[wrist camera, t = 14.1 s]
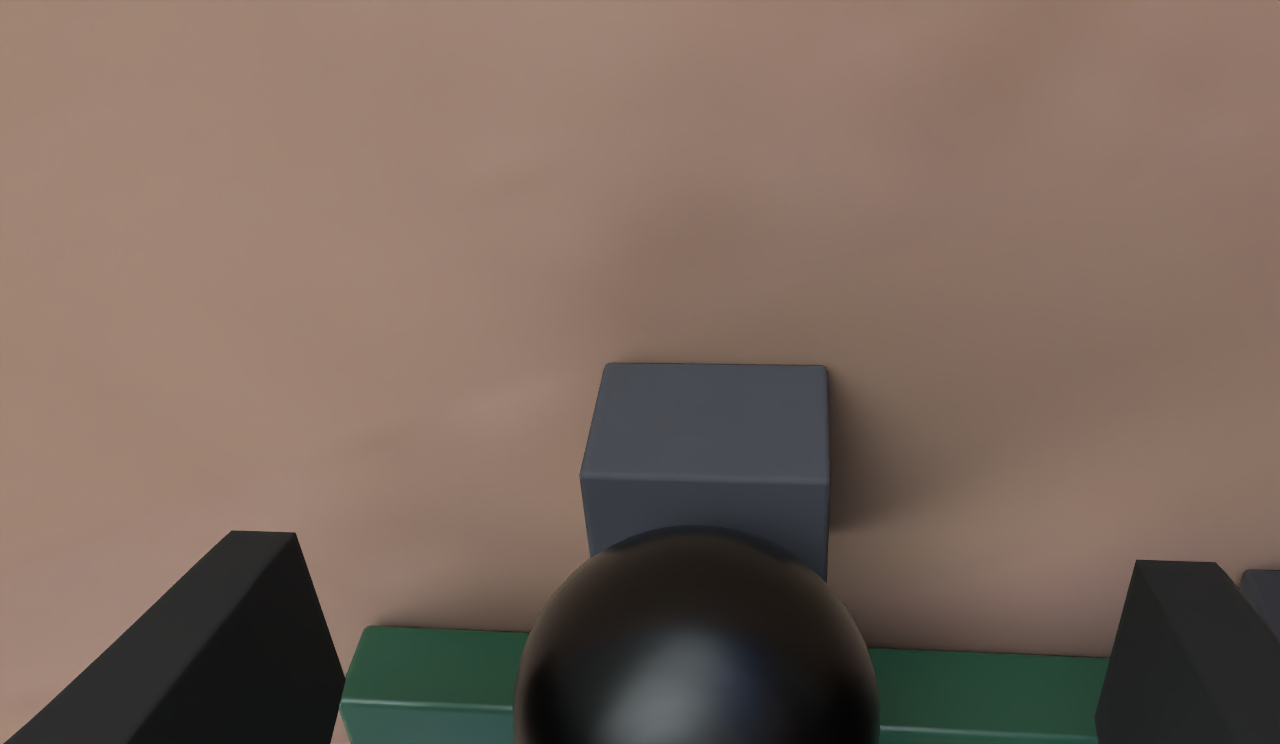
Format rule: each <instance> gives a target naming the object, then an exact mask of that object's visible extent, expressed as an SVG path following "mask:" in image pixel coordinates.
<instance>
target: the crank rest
mask: <svg viewBox="0 0 1280 744" xmlns="http://www.w3.org/2000/svg"><path fill="white" fill-rule="evenodd" d="M579 476H580V483H581V491H582V498H583V506H584V513H585V521H586V528H587V536H588V543H589V551H590V558H592V557H593V556H595V555H596V554H598V553H600V552H601V551H603V550H604V549H606V548H608V547H610V546H612V545H614V544H616V543H618V542H620V541H623V540H625V539H627V538H629V537H631V536H634V535H637V534H640V533H643V532H647V531H650V530H653V529H658V528H665V527H671V526H678V525H707V526H717V527H724V528H729V529H733V530H738V531H742V532H746V533H748V534H751V535H754V536H757V537H759V538H762V539H765V540H767V541H769V542H771V543H773V544H775V545H777V546H779V547H781V548H783V549H785V550H786V551H788V552H789V553H791V554H792V555H794V556H795V557H797V558H798V559H800V560H801V561H803V562H804V563H805V564H806V565H808V566H809V567H810V568H811V569H812V570H813V571H814V572H816V573H817V574H818V575H819V576H820V577H821V578H822V579H823V580H824V581H825V582H826V583H827V561H828V537H829V512H830V488H831V472H830V435H829V398H828V371H827V369H826V367H824V366H819V365H739V364H659V363H608V364H606V365H605V367H604V371H603V375H602V379H601V384H600V388H599V392H598V397H597V401H596V405H595V410H594V414H593V418H592V423H591V427H590V432H589V436H588V440H587V445H586V449H585V453H584V458H583V462H582V466H581V471H580V475H579Z"/></svg>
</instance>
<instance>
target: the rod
mask: <svg viewBox="0 0 1280 744" xmlns="http://www.w3.org/2000/svg"><path fill="white" fill-rule="evenodd" d="M512 721H513V732H514V742H515V744H879V736H880V704H879V691H878V686H877V681H876V675H875V671H874V668H873V665H872V662H871V659H870V656H869V653H868V650H867V647H866V644H865V641H864V639H863V637H862V635H861V633H860V631H859V629H858V626H857V624H856V622H855V620H854V619H853V617H852V616H851V614H850V613H849V611H848V610H847V608H846V607H845V605H844V604H843V602H842V601H841V599H840V598H839V597H838V596H837V595H836V594H835V593H834V591H833V590H832V589H831V588H830V587H829V586H828V585H827V583H826V582H825V581H824V580H823V579H822V578H821V577H820V576H819V575H818V574H817V573H816V572H814V571H813V570H812V569H811V568H810V567H809V566H808V565H806V564H805V563H804V562H803V561H801V560H800V559H798V558H797V557H795V556H794V555H792V554H791V553H789V552H788V551H786V550H785V549H783V548H781V547H779V546H777V545H775V544H773V543H771V542H769V541H767V540H765V539H762V538H759V537H757V536H754V535H751V534H748V533H746V532H742V531H738V530H733V529H729V528H724V527H717V526H707V525H678V526H671V527H665V528H658V529H653V530H650V531H647V532H643V533H640V534H637V535H634V536H631V537H629V538H627V539H625V540H623V541H620V542H618V543H616V544H614V545H612V546H610V547H608V548H606V549H604V550H603V551H601V552H600V553H598V554H596V555H595V556H593V557H592V558H590V559H589V560H587V561H586V562H585V563H584V564H583V565H581V566H580V567H579V568H578V569H577V570H575V571H574V572H573V573H572V574H571V575H570V576H569V577H568V578H567V580H566V581H565V582H564V583H563V584H562V585H561V586H560V587H559V588H558V589H557V591H556V592H555V593H554V594H553V595H552V596H551V598H550V599H549V601H548V602H547V604H546V605H545V607H544V608H543V610H542V611H541V612H540V614H539V616H538V618H537V620H536V622H535V624H534V626H533V628H532V630H531V632H530V634H529V636H528V639H527V641H526V643H525V646H524V649H523V652H522V655H521V658H520V661H519V664H518V670H517V675H516V681H515V686H514V695H513V715H512Z"/></svg>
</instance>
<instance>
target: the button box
mask: <svg viewBox="0 0 1280 744" xmlns="http://www.w3.org/2000/svg"><path fill="white" fill-rule="evenodd" d="M1238 589H1239V590H1240V591H1241V593H1242V594H1243V595H1244V596H1245V598H1246V599H1247V600H1248V601H1249V603H1250V604H1251V605H1252V606H1253V608H1254V609H1255V610H1256V612H1257V613H1258V614H1259V615H1260V617H1261V618H1262V619H1263V620H1264V622H1265V623H1266V624H1267V625H1268V627H1269V628H1270V629H1271V630H1272V632H1273V633H1274V634H1275V635H1276V637H1277V638H1278V639H1279V640H1280V571H1278V570H1247V571H1245V572H1244V574H1243V577H1242V580H1241V583H1240V586H1239V588H1238Z"/></svg>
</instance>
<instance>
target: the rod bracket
mask: <svg viewBox="0 0 1280 744" xmlns="http://www.w3.org/2000/svg"><path fill="white" fill-rule="evenodd" d="M529 634H530V633H526V632H503V631H480V630H458V629H435V628H412V627H389V626H368V627H366V628H365V629H364V631H363V633H362V636H361V638H360V641H359V644H358V646H357V649H356V651H355V654H354V656H353V659H352V662H351V664H350V667H349V669H348V672H347V674H346V677H345V679H346V681H345V685H344V689H343V693H342V698H341V702H340V706H339V711H340V713H341V716H342V719H343V722H344V725H345V727H346V730H347V733H348V736H349V739H350V741H351V744H515V742H514V732H513V721H512V715H513V695H514V686H515V681H516V675H517V670H518V664H519V661H520V658H521V655H522V652H523V649H524V646H525V643H526V641H527V639H528V636H529ZM867 650H868V653H869V656H870V659H871V662H872V665H873V668H874V671H875V675H876V681H877V686H878V691H879V704H880V736H879V744H1098V739H1097V732H1096V725H1095V718H1094V717H1095V713H1096V709H1097V705H1098V701H1099V698H1100V694H1101V690H1102V686H1103V683H1104V679H1105V675H1106V671H1107V668H1108V664H1109V660H1110V658H1095V657H1073V656H1050V655H1027V654H1004V653H981V652H959V651H936V650H913V649H890V648H868V647H867Z"/></svg>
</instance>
